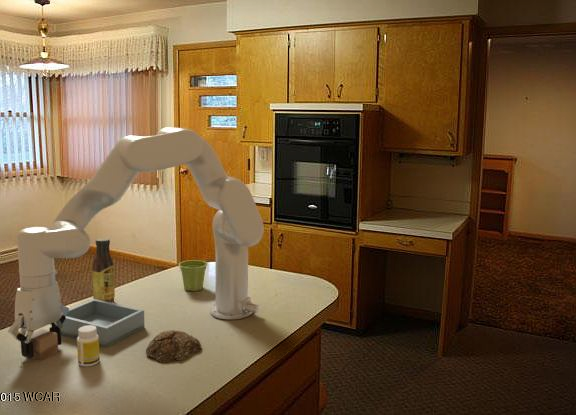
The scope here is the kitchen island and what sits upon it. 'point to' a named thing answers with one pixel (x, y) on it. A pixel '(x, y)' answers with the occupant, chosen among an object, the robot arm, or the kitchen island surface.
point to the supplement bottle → (88, 346)
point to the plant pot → (193, 274)
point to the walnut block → (44, 344)
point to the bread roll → (172, 346)
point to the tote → (104, 320)
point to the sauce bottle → (103, 272)
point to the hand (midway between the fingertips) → (42, 349)
